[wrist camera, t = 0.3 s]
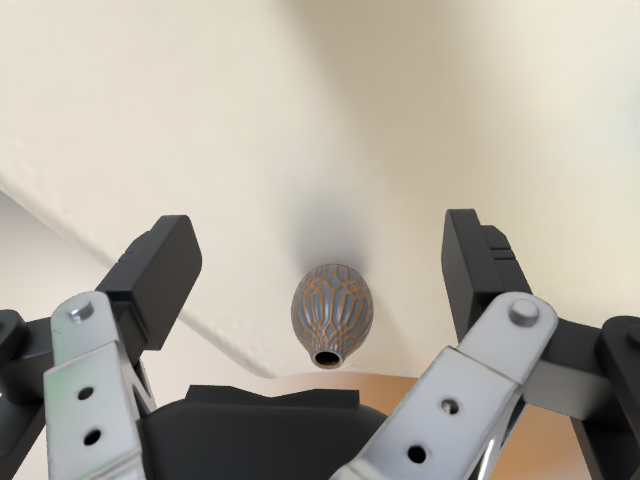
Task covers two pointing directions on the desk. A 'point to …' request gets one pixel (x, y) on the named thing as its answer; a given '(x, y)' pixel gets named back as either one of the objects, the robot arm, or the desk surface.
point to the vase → (332, 314)
